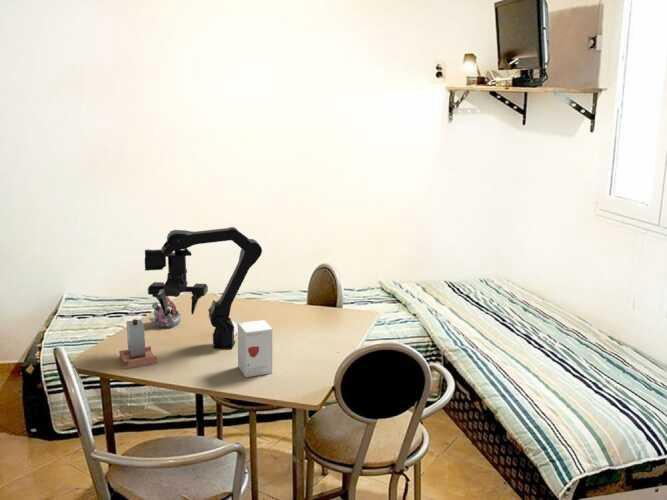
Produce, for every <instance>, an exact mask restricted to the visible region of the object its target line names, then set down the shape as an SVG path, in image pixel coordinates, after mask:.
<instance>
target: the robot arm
mask: <svg viewBox="0 0 667 500" xmlns="http://www.w3.org/2000/svg"><path fill="white" fill-rule="evenodd" d="M228 241H232V242H233V243H234V244H235V245H237V246H238V247H239V248H240V252H239V257H238V262H237V265H236V266H235V268H234V271H233V272H232V274H231V276H230V277H229V280H228V283H227V284H226V287H225V288H224V290H223V292H222V295H221V296H220V298H219V299H218V300H217V301H216V300H215V299H214V300H212V302H211V305H210V307H209V308H208V310H207V311H208V318H209V320H210V321H209V322H210V324H211V326H212V327H213V328H214V329H213V333H212V345H213V346H212V347H213V349H216V350H220V349H222V350H233V348H234V346H235V344H236V340H235V326H234V322H233V321H232V319H231V317H230V315H231V309H232V304H233V302H234V300H235V298H236V296H237V294H238V292H239V290H240V288H241V286H242V284H243V282H244V280H245V278H246V276H247V274H248V272H249V270H250V269H251V268H252V267H253V265H255V263H257V261H258V260H259V258H260V257H261V256H262V253H263V249H262V246H261V245H260V244H259V242H258V241H257V240H255V239H254V238H249V237H247V236H246V235H244V234H243V233H242V232H240V231H239V230H238V229H237V228H236V227H234V226H230V227H226V228H225V227H223V228H218V229H217V228H216V229H207V230H197V231H191V230H186V229H184V230H183V229H182V230H181V229H173V230H170V231H169V233H168V234H167V236H166V241H165V242H164V243H163V245H162V247H161V248H160V249H144V271H146V272H149V271H161V270H162V271H163V270H164V269H165V268H167V269H168V273H167V276H166V277H167V278H166V281H165V282H164V281H163V282H159V281H154V282H152V283H151V284H150V285H148V287H147V295H151V296H152V297H153V298H156V299H157V301H158V303H159V304H160V306H161V307H162V309H163V311H164V313H165V314H166V313H167V303H166V301H167V300H166V297H168V298H169V297H174V298H178V297H179V296H180V295H181V293H191V294H192V295H191V297H190V298H191V310H190V311H191V315H194V314H195V311H196V307H197V304H198V301H199V299H201V298H202V297H205V295H206V294H207V293H208V292H209V289H208V287H209V286H208V285H207V283H195V284H194V285H193V286H188V280H187V273H188V269H187V258H186V257H191V256H192V255H193V254H192V251H190V250H189V248H190V247H193V246H196V245H203V244H209V243H220V242H228Z"/></svg>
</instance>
